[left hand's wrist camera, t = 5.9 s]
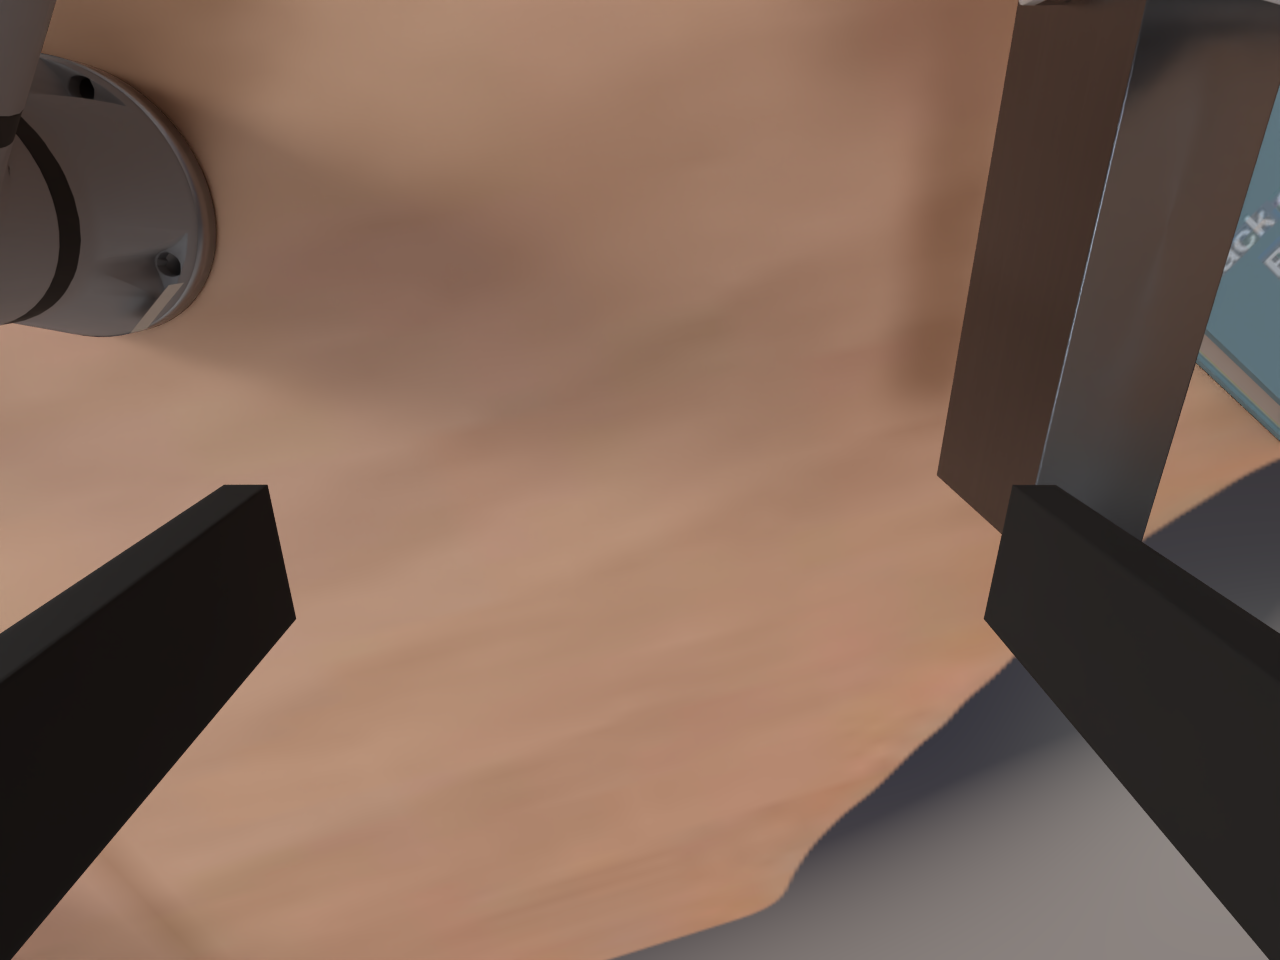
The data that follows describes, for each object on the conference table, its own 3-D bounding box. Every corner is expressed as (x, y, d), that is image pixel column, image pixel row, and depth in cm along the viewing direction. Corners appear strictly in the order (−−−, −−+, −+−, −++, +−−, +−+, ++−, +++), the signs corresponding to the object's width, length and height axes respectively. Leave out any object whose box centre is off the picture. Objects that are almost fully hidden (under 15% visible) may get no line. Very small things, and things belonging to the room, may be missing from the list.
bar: (1029, 475, 35) (1139, 551, 27) (936, 475, 35) (1020, 551, 27) (1163, -116, 26) (1381, -249, 18) (1037, -116, 26) (1203, -249, 18)
